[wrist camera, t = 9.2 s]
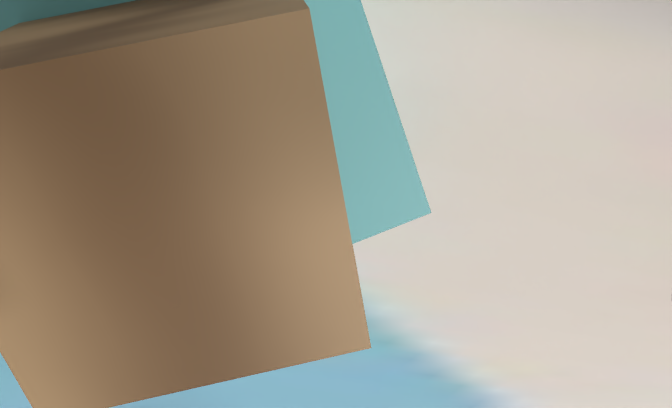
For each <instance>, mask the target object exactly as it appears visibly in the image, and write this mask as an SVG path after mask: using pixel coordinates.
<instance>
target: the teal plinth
mask: <svg viewBox="0 0 672 408" xmlns="http://www.w3.org/2000/svg"><path fill="white" fill-rule="evenodd" d="M130 1H135V0H0V32H1V31H3V30H5V29H7V28H9V27H12V26H14V25H16V24H18V23H22V22H27V21H32V20H38V19H43V18H48V17H53V16H58V15H63V14H68V13H74V12H79V11H84V10H89V9H94V8H99V7H104V6H109V5H115V4H120V3H125V2H130ZM304 1H305V3H306V4H307V6H308V7H309V8H310V14H311V19H312V25H313V30H314V36H315V41H316V47H317V52H318V58H319V63H320V69H321V74H322V80H323V85H324V91H325V97H326V102H327V108H328V113H329V119H330V124H331V130H332V135H333V141H334V146H335V152H336V157H337V163H338V168H339V174H340V179H341V185H342V190H343V196H344V201H345V207H346V212H347V218H348V223H349V229H350V234H351V240H352V244H353V243H356V242H358V241H361V240H363V239H366V238H369V237H371V236H374V235H376V234H379V233H381V232H384V231H386V230H389V229H391V228H394V227H396V226H399V225H401V224H404V223H407V222H409V221H412V220H414V219H417V218H419V217H422V216H424V215H427V214H429V213H431V211H430V208H429V205H428V202H427V199H426V196H425V193H424V190H423V187H422V184H421V181H420V178H419V175H418V172H417V169H416V166H415V163H414V160H413V157H412V154H411V151H410V148H409V145H408V142H407V139H406V135H405V132H404V129H403V126H402V123H401V120H400V117H399V114H398V111H397V108H396V105H395V102H394V99H393V96H392V93H391V90H390V87H389V84H388V81H387V78H386V75H385V72H384V69H383V66H382V63H381V60H380V57H379V54H378V51H377V48H376V45H375V42H374V39H373V36H372V33H371V30H370V27H369V24H368V21H367V18H366V15H365V12H364V9H363V6H362V3H361V0H304Z"/></svg>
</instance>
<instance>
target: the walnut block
mask: <svg viewBox="0 0 672 408" xmlns="http://www.w3.org/2000/svg"><path fill="white" fill-rule="evenodd" d="M369 348H371V344H370V339H369V333H368V328H367V322H366V317H365V311H364V306H363V300H362V295H361V289H360V284H359V278H358V273H357V267H356V262H355V256H354V251H353V245H352V240H351V234H350V229H349V223H348V218H347V212H346V207H345V201H344V196H343V190H342V185H341V179H340V174H339V168H338V163H337V157H336V152H335V146H334V141H333V135H332V130H331V124H330V119H329V113H328V108H327V102H326V97H325V91H324V85H323V80H322V74H321V69H320V63H319V58H318V52H317V47H316V41H315V36H314V30H313V25H312V19H311V14H310V8H309V7H308V6H307V4H306V3H305V1H304V0H135V1H130V2H125V3H120V4H115V5H109V6H104V7H99V8H94V9H89V10H84V11H79V12H74V13H68V14H63V15H58V16H53V17H48V18H43V19H38V20H32V21H27V22H22V23H18V24H16V25H14V26H12V27H9V28H7V29H5V30H3V31H1V32H0V352H1V354H2V356H3V357H4V359H5V361H6V363H7V364H8V366H9V368H10V370H11V371H12V373H13V375H14V376H15V378H16V380H17V382H18V383H19V385H20V387H21V388H22V390H23V392H24V394H25V395H26V397H27V399H28V401H29V402H30V404H31V406H32V407H33V408H109V407H113V406H118V405H122V404H126V403H131V402H135V401H140V400H144V399H148V398H153V397H157V396H162V395H166V394H170V393H175V392H179V391H184V390H188V389H192V388H197V387H201V386H206V385H210V384H214V383H219V382H223V381H228V380H232V379H236V378H241V377H245V376H250V375H254V374H258V373H263V372H267V371H272V370H276V369H280V368H285V367H289V366H294V365H298V364H302V363H307V362H311V361H316V360H320V359H324V358H329V357H333V356H338V355H342V354H347V353H351V352H355V351H360V350H364V349H369Z"/></svg>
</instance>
